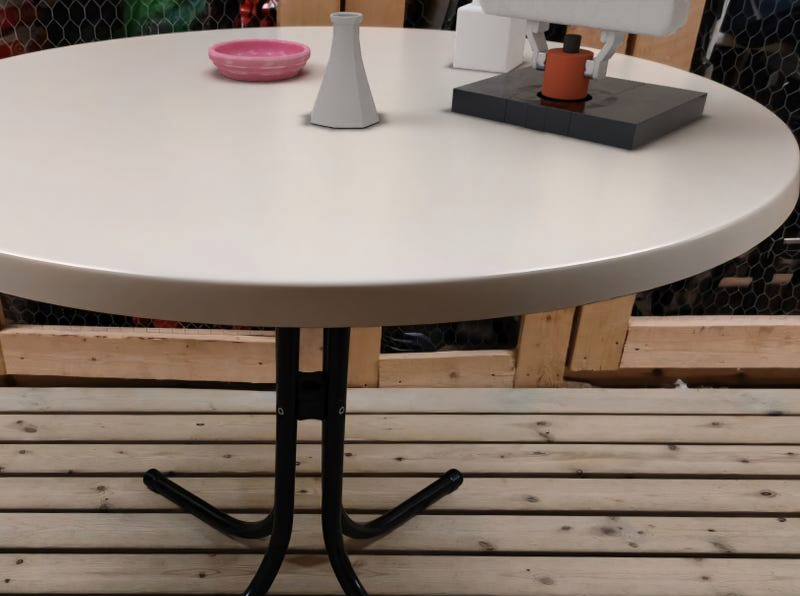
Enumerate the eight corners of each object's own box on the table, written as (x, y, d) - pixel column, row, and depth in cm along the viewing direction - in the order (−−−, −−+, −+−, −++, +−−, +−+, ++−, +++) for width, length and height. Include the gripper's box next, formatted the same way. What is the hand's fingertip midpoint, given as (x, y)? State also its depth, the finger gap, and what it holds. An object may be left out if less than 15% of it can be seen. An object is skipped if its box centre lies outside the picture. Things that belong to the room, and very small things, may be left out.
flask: (387, 115, 86) (392, 10, 81) (369, 133, 81) (373, 22, 75) (321, 109, 88) (321, 7, 83) (299, 127, 82) (298, 18, 77)
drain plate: (701, 118, 85) (707, 92, 84) (630, 152, 75) (635, 124, 74) (531, 86, 97) (534, 64, 96) (450, 113, 87) (452, 88, 86)
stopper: (594, 94, 83) (605, 35, 80) (572, 102, 80) (582, 41, 77) (555, 87, 86) (564, 29, 83) (533, 94, 83) (541, 35, 80)
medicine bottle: (523, 63, 108) (536, -40, 101) (506, 74, 102) (519, -35, 96) (470, 58, 110) (479, -43, 104) (451, 68, 105) (460, -38, 99)
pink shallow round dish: (290, 60, 109) (290, 34, 108) (325, 80, 100) (325, 52, 98) (198, 68, 106) (196, 41, 104) (225, 89, 96) (224, 60, 94)
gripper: (722, -84, 70) (683, 85, 78) (514, -93, 82) (497, 55, 90) (692, -81, 67) (654, 97, 74) (478, -90, 78) (464, 64, 86)
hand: (567, 74), depth 82 cm, fingers closed on stopper, 4 cm apart
